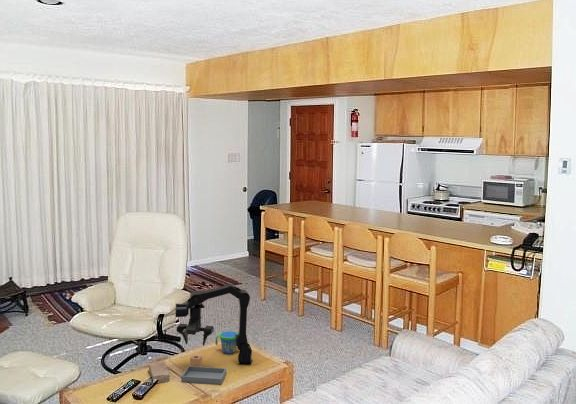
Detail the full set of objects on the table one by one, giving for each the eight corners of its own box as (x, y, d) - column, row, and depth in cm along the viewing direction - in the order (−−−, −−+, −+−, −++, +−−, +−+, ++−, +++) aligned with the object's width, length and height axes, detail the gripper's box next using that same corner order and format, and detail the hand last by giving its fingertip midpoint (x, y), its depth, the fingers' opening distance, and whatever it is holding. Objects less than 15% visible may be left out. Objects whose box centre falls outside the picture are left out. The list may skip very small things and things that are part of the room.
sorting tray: (226, 374, 268) (226, 368, 268) (220, 384, 256) (220, 379, 256) (188, 371, 270) (188, 365, 270) (181, 382, 259) (181, 376, 258)
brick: (170, 382, 259) (170, 373, 258) (152, 384, 256) (152, 375, 255) (164, 368, 274) (164, 360, 274) (148, 371, 271) (148, 362, 270)
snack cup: (245, 349, 299) (245, 332, 298) (238, 357, 289) (238, 339, 288) (220, 346, 304) (220, 329, 302) (212, 353, 293) (212, 335, 292)
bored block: (202, 364, 279) (202, 355, 279) (199, 368, 274) (199, 359, 274) (192, 363, 280) (192, 354, 279) (190, 367, 275) (190, 358, 274)
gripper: (172, 319, 266) (172, 349, 268) (208, 322, 264) (207, 352, 265) (180, 312, 277) (180, 341, 279) (214, 315, 275) (214, 343, 276)
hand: (195, 344), depth 275 cm, fingers open, 9 cm apart
